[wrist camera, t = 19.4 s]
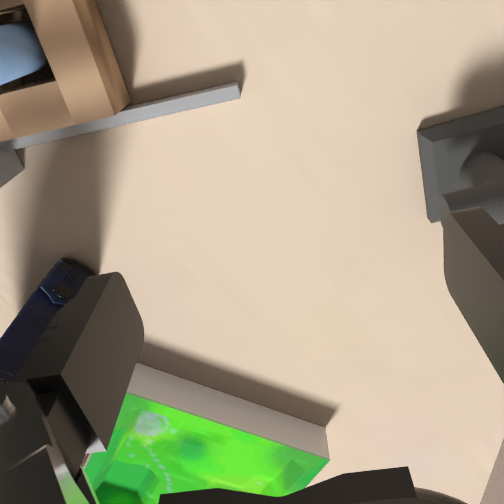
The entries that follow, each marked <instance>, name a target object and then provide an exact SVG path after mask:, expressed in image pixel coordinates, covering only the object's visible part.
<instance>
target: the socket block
mask: <svg viewBox="0 0 504 504" xmlns="http://www.w3.org/2000/svg"><path fill="white" fill-rule="evenodd" d="M25 8H26V9H27V12H28V14H29V16H30V19H31V21H32V24H33V26H34V28H35V31H36V33H37V36H38V38H39V40H40V43H41V45H42V48H43V50H44V52H45V55H46V57H47V60H48V62H49V64H50V67H51V69H52V71H53V74H54V76H53V77H49V78H45V79H41V80H37V81H33V82H29V83H25V84H23V83H22V81H21V79H20V78H17V79H15V80H12V81H10V82H7V83H5V84H2V85H0V142H3V141H7V140H11V139H16V138H20V137H24V136H29V135H33V134H37V133H42V132H46V131H50V130H55V129H59V128H63V127H68V126H72V125H76V124H81V123H85V122H89V121H94V120H98V119H103V118H107V117H111V116H115V115H116V114H117V113H118V112H120V111H121V110H122V109H123V108H124V107H125V106H126V105H127V104H128V103H130V102H131V101H130V98H129V95H128V92H127V89H126V86H125V83H124V81H123V78H122V75H121V72H120V69H119V66H118V63H117V60H116V58H115V55H114V52H113V49H112V46H111V43H110V40H109V37H108V35H107V32H106V29H105V26H104V23H103V20H102V17H101V14H100V12H99V9H98V6H97V3H96V0H0V15H3V14H7V13H11V12H14V11H18V10H22V9H25Z"/></svg>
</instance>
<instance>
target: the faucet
mask: <svg viewBox="0 0 504 504" xmlns="http://www.w3.org/2000/svg"><path fill="white" fill-rule="evenodd" d="M417 138H418V146H419V154H420V162H421V170H422V178H423V186H424V193H425V201H426V209H427V217H428V219H429V221H430V222H431V223H434V222H438V221H441V224H442V226H443V220H444V215H445V213H447V212H452V211H457V210H463V209H468V208H474V207H482V208H483V209H484V210H485V211H486V212H487V213H488V214H489V215H490V216H491V217H492V218H493V219H494V220H495V221H496V222H497V223H498V224H499V225H500V224H504V106H502V107H498V108H495V109H491V110H488V111H484V112H481V113H477V114H474V115H470V116H467V117H463V118H459V119H456V120H452V121H449V122H445V123H442V124H438V125H435V126H431V127H428V128H424V129H420V130H417Z"/></svg>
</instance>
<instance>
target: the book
mask: <svg viewBox="0 0 504 504" xmlns="http://www.w3.org/2000/svg"><path fill="white" fill-rule="evenodd" d="M90 276H96V275H95V273H94V272H93V271H91V270H90V269H88V268H87V267H85V266H83V265H81V264H79V263H78V262H76V261H75V260H70V259H68V258H62V259H61V260H60V261H59V262H57V263H56V264H55V266H54V267H53V268H52V269H51V270H50V271H49V273H48V274H47V276H46V277H45V278H44V279H43V280H42V281H41V283H40V285H39V286H38V287H37V289H36V290H35V291H34V293H33V294H32V295H31V297H30V298H29V299H28V301H27V302H26V304H25V305H24V307H23V308H22V309H21V311H20V312H19V314H18V315H17V317H16V318H15V319H14V320H13V322H12V323H11V325H10V326H9V327H8V328H7V330H6V331H5V333H4V334H3V336H2V337H1V338H0V386H1V385H4V384H7V383H12V382H13V381H14V379H15V378H16V376H17V375H18V373H19V371H20V370H21V368H22V367H23V365H24V363H25V362H26V360H27V359H28V357H29V355H30V354H31V352H32V351H33V349H34V348H35V346H36V344H37V343H40V338H41V336H42V335H43V333H44V332H45V331H46V330H47V327H48V325H49V324H50V322H51V320H52V319H53V317H54V316H55V314H56V313H57V312H58V311H59V310H60V309H61V308H62V307H63V306H65V305H66V304H67V303H68V302H69V301H70V300H71V299H74V298H75V297H76V295H77V293H78V292H79V290H80V288H81V287H82V285H83V283H84V282H85V280H86V279H87V278H88V277H90Z"/></svg>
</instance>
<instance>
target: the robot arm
mask: <svg viewBox="0 0 504 504" xmlns="http://www.w3.org/2000/svg"><path fill="white" fill-rule="evenodd" d="M443 239H444V274H445V280H446V284H447V287H448V290H449V292H450V294H451V296H452V298H453V300H454V301H455V303H456V305H457V306H458V308H459V310H460V311H461V313H462V315H463V316H464V318H465V320H466V321H467V323H468V325H469V326H470V328H471V330H472V331H473V333H474V335H475V336H476V338H477V340H478V341H479V343H480V345H481V347H482V348H483V350H484V352H485V353H486V355H487V357H488V358H489V360H490V362H491V363H492V365H493V367H494V368H495V370H496V372H497V373H498V375H499V377H500V378H501V380H502V382H503V383H504V224H500V225H499V224H498V223H497V222H496V221H495V220H494V219H493V218H492V217H491V216H490V215H489V214H488V213H487V212H486V211H485V210H484V209H483V208H482V207H474V208H468V209H463V210H457V211H452V212H447V213H445V215H444V220H443ZM143 340H144V327H143V322H142V319H141V316H140V314H139V312H138V310H137V307H136V305H135V303H134V300H133V298H132V296H131V294H130V291H129V289H128V287H127V284H126V282H125V280H124V278H123V276H122V275H121V274H120V273H119V272H112V273H107V274H101V275H96V276H90V277H88V278H87V279H86V280H85V282H84V283H83V285H82V287H81V288H80V290H79V292H78V293H77V295H76V297H75V298H74V299H71V300H70V301H69V302H68V303H67V304H66V305H65V306H63V307H62V308H61V309H60V310H59V311H58V312H57V313H56V314H55V316H54V317H53V319H52V320H51V322H50V324H49V325H48V327H47V330H46V331H45V332H44V333H43V335H42V336H41V338H40V343H37V344H36V346H35V348H34V349H33V351H32V352H31V354H30V355H29V357H28V359H27V360H26V362H25V363H24V365H23V367H22V368H21V370H20V371H19V373H18V375H17V376H16V378H15V379H14V381H13V382H12V383H7V384H4V385H1V386H0V504H100V503H99V501H98V499H97V496H96V494H95V492H94V489H93V487H92V485H91V483H90V480H89V478H88V476H87V474H86V472H85V470H84V469H83V467H82V466H81V463H82V461H83V458H84V456H85V454H88V453H96V452H104V451H107V448H108V445H109V442H110V439H111V436H112V433H113V430H114V428H115V425H116V422H117V419H118V416H119V413H120V410H121V407H122V404H123V401H124V398H125V395H126V392H127V389H128V386H129V383H130V380H131V377H132V374H133V371H134V368H135V365H136V362H137V359H138V356H139V353H140V350H141V347H142V344H143ZM158 504H467V503H465V502H463V501H461V500H459V499H456V498H453V497H451V496H448V495H445V494H443V493H439V492H435V491H431V490H427V489H422V488H416V487H414V485H413V482H412V478H411V475H410V472H409V468H408V466H407V467H398V468H389V469H380V470H371V471H362V472H354V473H345V474H341V475H339V476H336V477H333V478H331V479H328V480H325V481H323V482H320V483H317V484H315V485H312V486H309V487H307V488H304V489H301V490H299V491H296V492H293V493H291V494H288V495H285V496H280V497H274V496H267V495H261V494H255V493H248V492H242V491H235V490H229V489H222V488H211V489H202V490H194V491H185V492H176V493H167V494H160V498H159V503H158ZM480 504H504V439H503V442H502V445H501V447H500V450H499V453H498V456H497V458H496V461H495V464H494V467H493V469H492V472H491V475H490V478H489V481H488V483H487V486H486V489H485V492H484V494H483V497H482V500H481V503H480Z"/></svg>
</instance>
